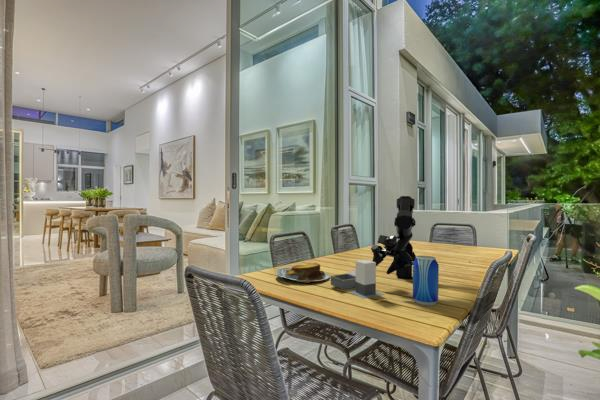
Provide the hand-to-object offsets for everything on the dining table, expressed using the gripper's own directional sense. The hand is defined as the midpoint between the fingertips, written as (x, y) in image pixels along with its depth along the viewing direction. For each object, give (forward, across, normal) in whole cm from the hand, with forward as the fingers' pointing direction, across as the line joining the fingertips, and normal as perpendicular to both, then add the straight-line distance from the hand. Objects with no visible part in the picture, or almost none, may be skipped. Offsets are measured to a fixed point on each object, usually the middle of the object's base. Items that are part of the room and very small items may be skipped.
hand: (379, 270), depth 124 cm
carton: (+12, -12, 0) cm, 16 cm away
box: (+10, 0, +1) cm, 10 cm away
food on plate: (+19, -32, -6) cm, 37 cm away
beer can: (+1, +17, +10) cm, 20 cm away
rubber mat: (+10, 0, +1) cm, 10 cm away
